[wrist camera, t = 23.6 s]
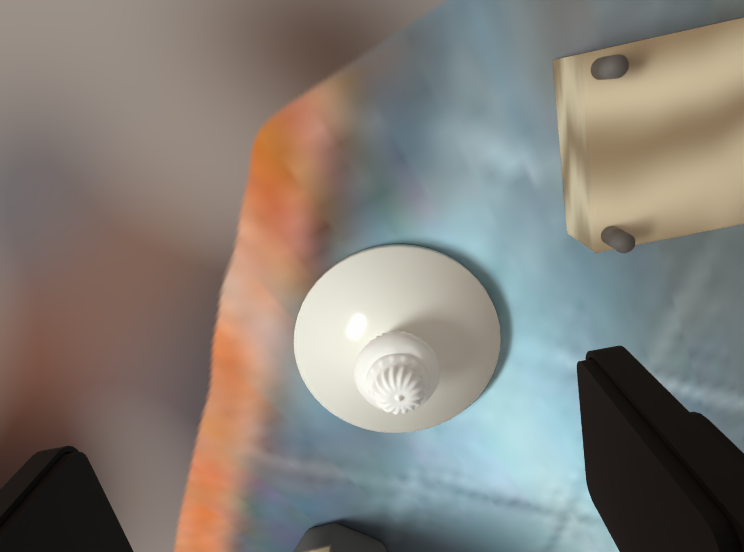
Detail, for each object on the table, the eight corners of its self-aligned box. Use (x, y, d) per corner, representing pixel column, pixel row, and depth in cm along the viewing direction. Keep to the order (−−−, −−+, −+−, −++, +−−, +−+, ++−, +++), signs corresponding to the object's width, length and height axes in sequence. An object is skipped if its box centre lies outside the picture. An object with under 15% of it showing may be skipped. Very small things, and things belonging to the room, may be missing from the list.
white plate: (508, 405, 42) (512, 414, 41) (323, 438, 43) (321, 447, 42) (482, 223, 37) (486, 227, 36) (272, 266, 38) (269, 271, 37)
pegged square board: (734, 199, 36) (815, 222, 29) (567, 233, 37) (609, 262, 30) (740, 17, 32) (834, -3, 26) (552, 60, 33) (597, 50, 26)
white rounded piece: (351, 316, 38) (347, 362, 31) (432, 310, 38) (445, 355, 31) (359, 387, 40) (357, 444, 33) (436, 381, 40) (448, 437, 33)
